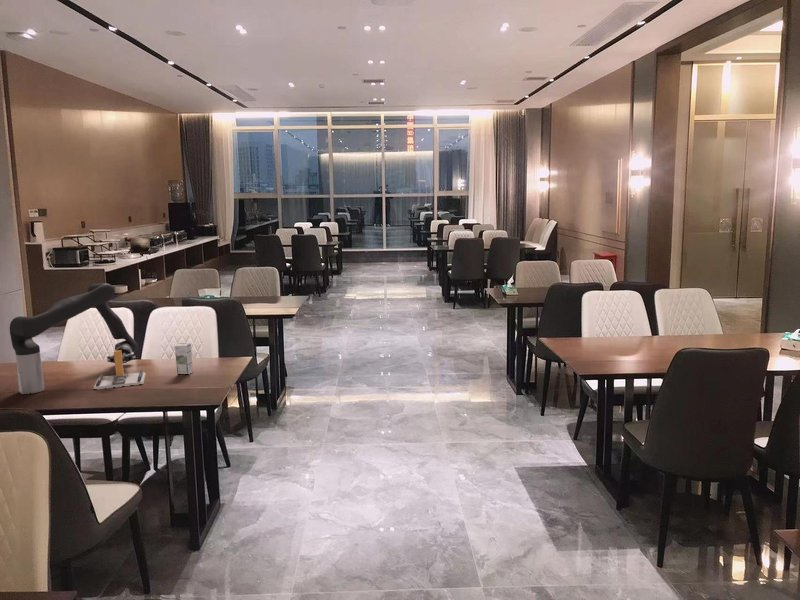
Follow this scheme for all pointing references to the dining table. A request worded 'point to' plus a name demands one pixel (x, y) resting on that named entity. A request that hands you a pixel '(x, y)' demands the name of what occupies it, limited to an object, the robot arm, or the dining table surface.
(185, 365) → the syrup box
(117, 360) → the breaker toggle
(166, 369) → the dining table surface
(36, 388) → the robot arm
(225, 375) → the dining table surface
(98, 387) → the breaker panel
